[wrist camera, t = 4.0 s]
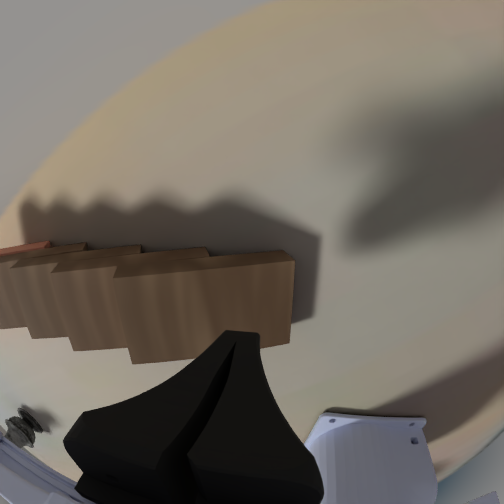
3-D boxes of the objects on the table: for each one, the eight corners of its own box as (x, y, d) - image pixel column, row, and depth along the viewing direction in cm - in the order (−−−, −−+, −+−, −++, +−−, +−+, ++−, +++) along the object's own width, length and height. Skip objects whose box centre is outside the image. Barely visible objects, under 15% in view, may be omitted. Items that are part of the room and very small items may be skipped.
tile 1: (295, 260, 14) (112, 278, 12) (289, 343, 16) (132, 364, 13) (282, 250, 16) (117, 265, 13) (279, 328, 17) (133, 346, 15)
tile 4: (82, 249, 16) (-22, 266, 13) (98, 318, 17) (-1, 329, 15) (86, 242, 17) (-13, 258, 14) (100, 307, 19) (6, 318, 16)
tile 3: (139, 252, 15) (9, 268, 13) (152, 328, 17) (31, 338, 14) (140, 244, 17) (19, 259, 14) (151, 315, 18) (38, 326, 16)
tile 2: (209, 256, 15) (50, 273, 12) (215, 336, 16) (73, 351, 14) (204, 246, 16) (58, 262, 14) (210, 322, 18) (78, 336, 15)
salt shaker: (50, 437, 30) (14, 487, 19) (31, 429, 31) (-3, 473, 20) (28, 410, 28) (-13, 460, 17) (11, 403, 29) (-28, 447, 18)
